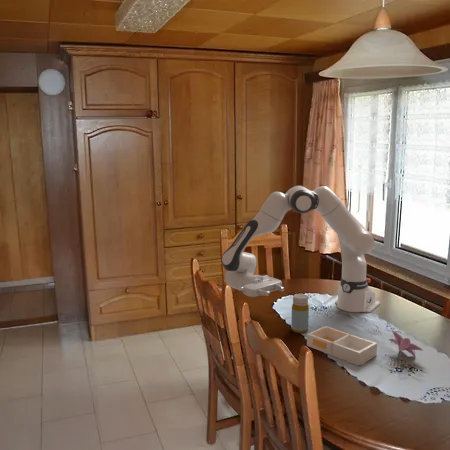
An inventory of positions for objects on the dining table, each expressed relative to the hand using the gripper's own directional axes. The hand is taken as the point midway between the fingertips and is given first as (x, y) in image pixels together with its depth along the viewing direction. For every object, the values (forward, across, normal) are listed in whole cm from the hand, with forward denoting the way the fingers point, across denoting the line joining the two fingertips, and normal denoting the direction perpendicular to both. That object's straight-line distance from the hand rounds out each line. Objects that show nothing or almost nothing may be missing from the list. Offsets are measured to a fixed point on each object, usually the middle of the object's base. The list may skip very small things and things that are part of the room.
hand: (275, 291), depth 207 cm
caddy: (+36, -4, +14) cm, 39 cm away
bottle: (+13, 0, +14) cm, 19 cm away
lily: (+55, +9, +14) cm, 58 cm away
